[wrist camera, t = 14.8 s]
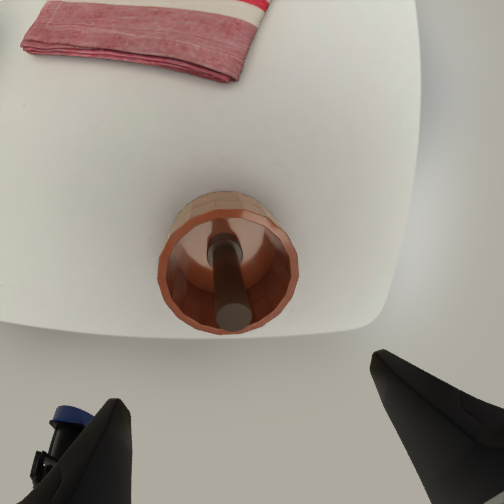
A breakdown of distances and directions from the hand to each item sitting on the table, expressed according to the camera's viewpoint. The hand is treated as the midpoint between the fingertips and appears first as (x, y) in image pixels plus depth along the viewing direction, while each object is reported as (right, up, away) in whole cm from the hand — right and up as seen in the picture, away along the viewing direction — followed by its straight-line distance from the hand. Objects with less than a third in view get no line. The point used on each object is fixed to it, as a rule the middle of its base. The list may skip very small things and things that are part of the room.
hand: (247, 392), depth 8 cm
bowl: (-2, +5, +12) cm, 13 cm away
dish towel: (-5, +28, +2) cm, 28 cm away
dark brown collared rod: (-2, +5, +11) cm, 12 cm away
